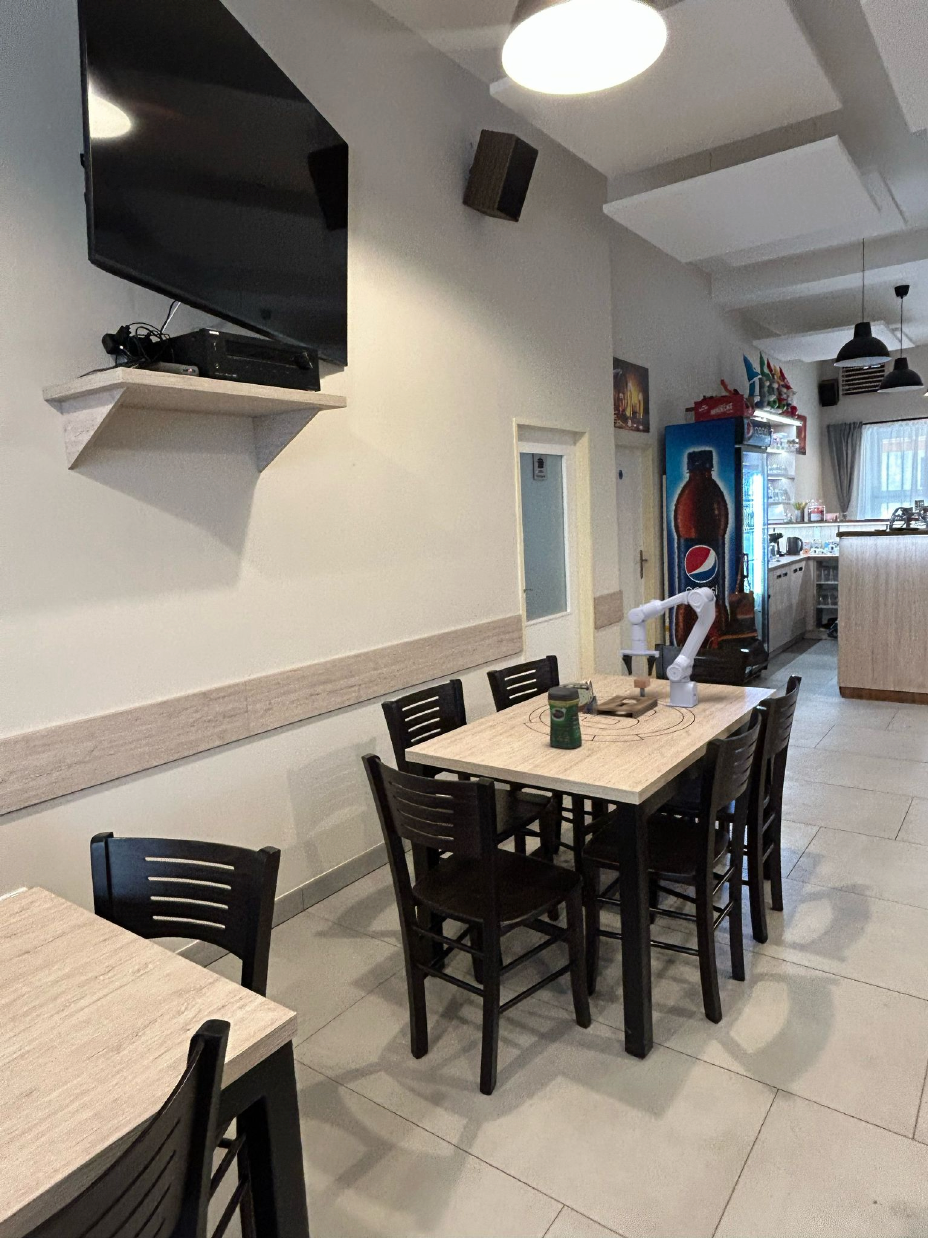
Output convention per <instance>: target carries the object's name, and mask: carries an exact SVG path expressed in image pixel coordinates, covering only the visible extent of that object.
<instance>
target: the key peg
mask: <svg viewBox="0 0 928 1238" xmlns="http://www.w3.org/2000/svg"><path fill="white" fill-rule="evenodd" d="M650 687H651V677H637V678H635V679H633V688H635V689H639V695H640V696H639V697H647V698H650V697H649V696H646V689H647V688H650ZM638 701H640V700H635V702H636V703H637V702H638Z"/></svg>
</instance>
